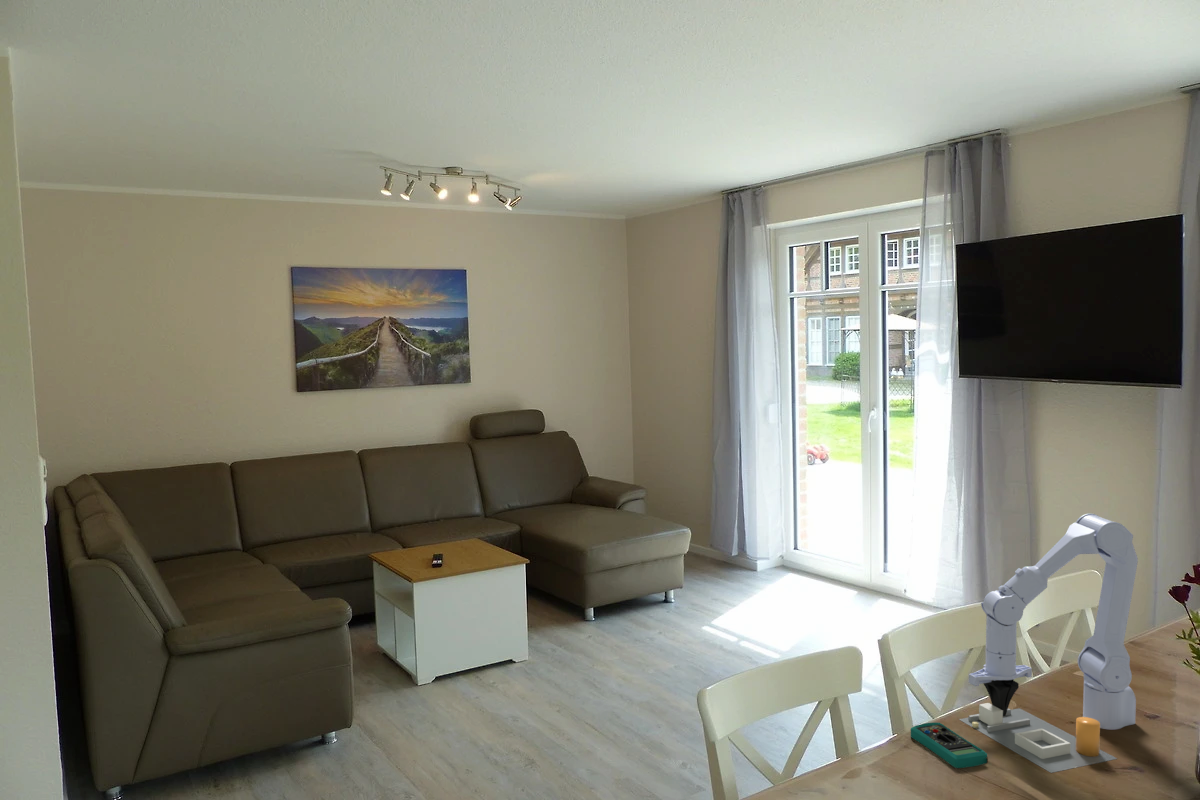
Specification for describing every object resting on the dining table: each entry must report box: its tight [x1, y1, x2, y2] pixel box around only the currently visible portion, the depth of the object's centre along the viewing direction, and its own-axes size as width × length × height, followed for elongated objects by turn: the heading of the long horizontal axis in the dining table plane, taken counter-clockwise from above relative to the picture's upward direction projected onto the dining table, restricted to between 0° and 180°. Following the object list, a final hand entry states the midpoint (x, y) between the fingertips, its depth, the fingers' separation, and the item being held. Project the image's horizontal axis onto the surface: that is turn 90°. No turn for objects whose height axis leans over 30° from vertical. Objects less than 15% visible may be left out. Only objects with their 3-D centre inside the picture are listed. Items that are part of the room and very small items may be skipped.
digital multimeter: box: [910, 722, 988, 769], centre depth 170 cm, size 7×15×3 cm, turn 16°
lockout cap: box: [1075, 716, 1101, 757], centre depth 166 cm, size 4×4×6 cm
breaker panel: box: [958, 707, 1118, 774], centre depth 172 cm, size 16×24×3 cm, turn 18°
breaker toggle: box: [978, 702, 1003, 725], centre depth 178 cm, size 2×4×3 cm, turn 18°
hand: (999, 714), depth 179 cm, fingers closed
